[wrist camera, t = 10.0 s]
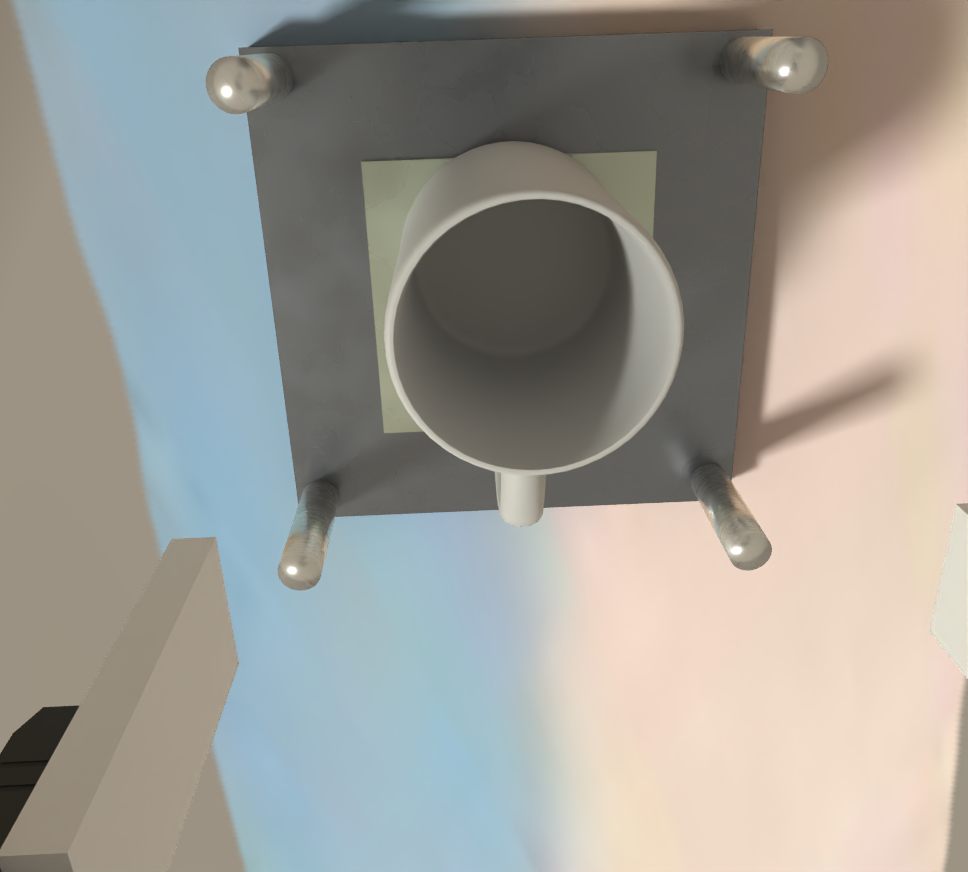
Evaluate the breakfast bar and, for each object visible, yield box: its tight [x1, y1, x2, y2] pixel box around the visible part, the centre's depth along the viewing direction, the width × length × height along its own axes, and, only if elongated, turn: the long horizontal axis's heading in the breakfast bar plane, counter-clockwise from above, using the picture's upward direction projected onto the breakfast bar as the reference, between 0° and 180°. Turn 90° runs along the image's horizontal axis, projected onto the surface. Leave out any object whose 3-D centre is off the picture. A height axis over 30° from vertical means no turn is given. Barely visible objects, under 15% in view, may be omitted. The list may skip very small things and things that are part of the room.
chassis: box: [206, 29, 828, 590], centre depth 34 cm, size 19×19×8 cm
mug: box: [384, 141, 684, 527], centre depth 30 cm, size 12×8×11 cm
